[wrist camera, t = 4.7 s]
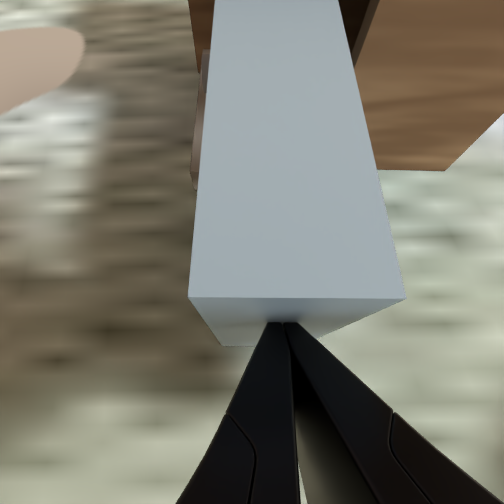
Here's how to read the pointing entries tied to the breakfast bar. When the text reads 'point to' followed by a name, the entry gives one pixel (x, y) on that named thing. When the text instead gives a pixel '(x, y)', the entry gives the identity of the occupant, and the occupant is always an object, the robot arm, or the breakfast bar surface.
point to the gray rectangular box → (286, 178)
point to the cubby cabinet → (407, 75)
